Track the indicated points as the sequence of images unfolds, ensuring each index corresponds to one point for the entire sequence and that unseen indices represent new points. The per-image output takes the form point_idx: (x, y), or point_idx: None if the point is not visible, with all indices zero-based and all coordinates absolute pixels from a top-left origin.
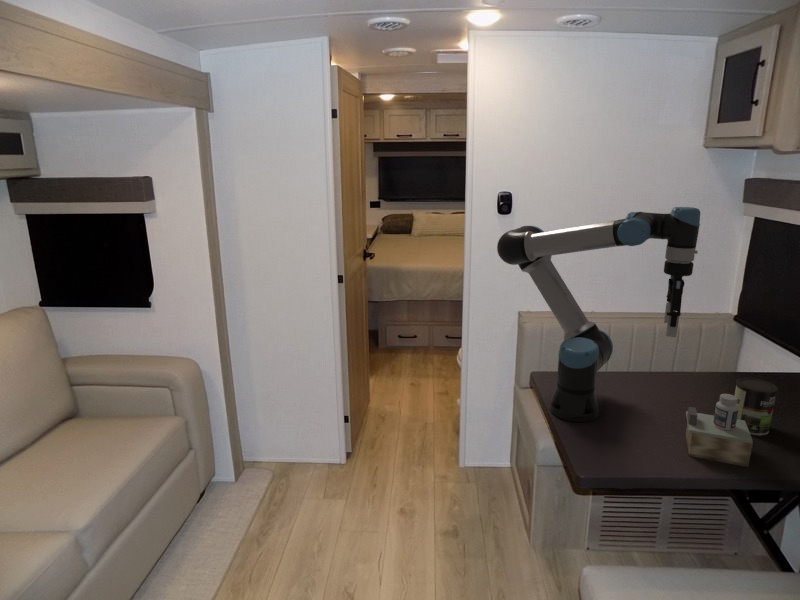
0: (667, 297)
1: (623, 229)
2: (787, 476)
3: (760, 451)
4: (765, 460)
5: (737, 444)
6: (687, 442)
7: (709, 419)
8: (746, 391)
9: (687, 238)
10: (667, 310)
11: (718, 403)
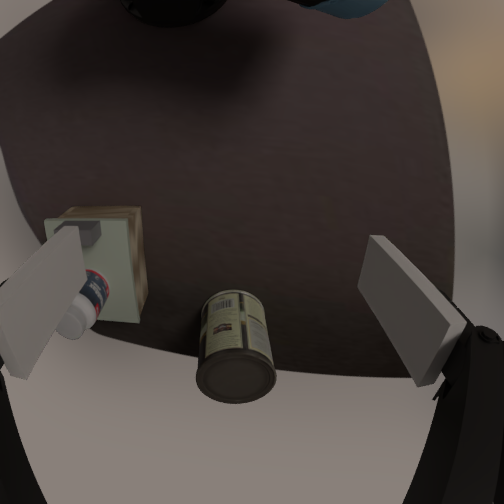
0: (501, 351)
1: None
2: (92, 328)
3: (146, 314)
4: None
5: None
6: (102, 208)
7: (107, 263)
8: (204, 358)
9: None
10: (409, 295)
11: None
